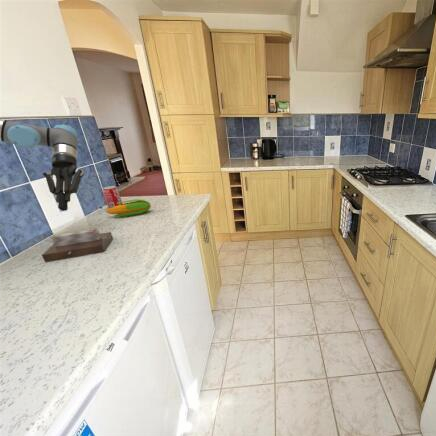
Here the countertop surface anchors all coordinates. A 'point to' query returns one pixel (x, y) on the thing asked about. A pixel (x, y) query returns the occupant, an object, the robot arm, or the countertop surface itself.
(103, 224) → the countertop surface
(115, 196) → the soda can
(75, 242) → the grey bar
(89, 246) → the base
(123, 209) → the corn
